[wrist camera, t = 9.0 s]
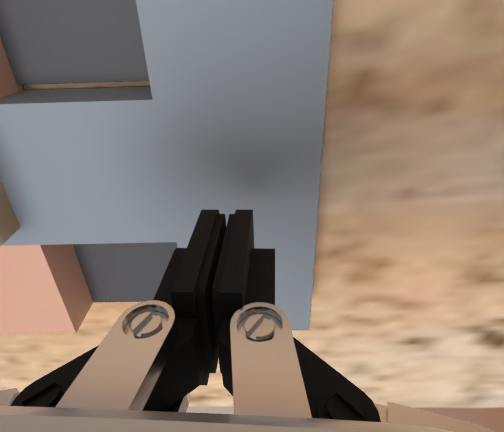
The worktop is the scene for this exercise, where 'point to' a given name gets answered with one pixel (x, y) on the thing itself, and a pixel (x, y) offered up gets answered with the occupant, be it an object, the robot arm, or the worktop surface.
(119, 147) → the trap board
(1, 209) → the maple block
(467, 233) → the worktop surface
